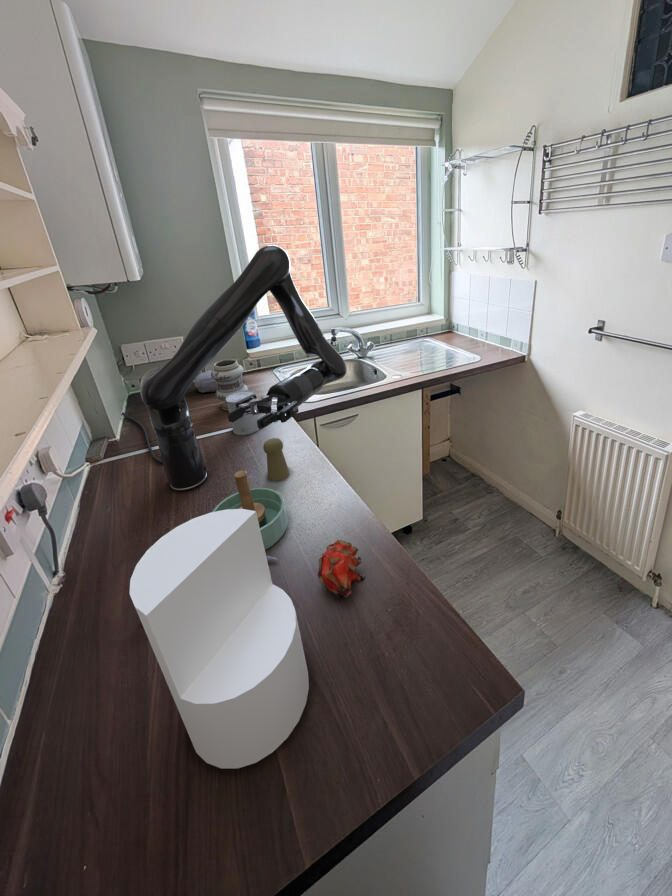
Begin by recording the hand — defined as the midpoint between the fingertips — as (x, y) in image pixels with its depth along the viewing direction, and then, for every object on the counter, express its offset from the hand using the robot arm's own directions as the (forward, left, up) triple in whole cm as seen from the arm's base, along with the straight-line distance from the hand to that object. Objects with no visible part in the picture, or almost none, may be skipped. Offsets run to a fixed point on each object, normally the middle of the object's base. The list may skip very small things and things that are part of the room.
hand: (243, 421), depth 87 cm
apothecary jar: (-57, +47, -27) cm, 78 cm away
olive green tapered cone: (-9, +16, -27) cm, 32 cm away
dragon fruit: (+27, -8, -27) cm, 39 cm away
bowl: (0, -4, -27) cm, 27 cm away
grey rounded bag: (-78, +59, -27) cm, 101 cm away
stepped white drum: (+25, -31, -27) cm, 48 cm away
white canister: (-38, +34, -27) cm, 57 cm away
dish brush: (0, -4, -26) cm, 26 cm away
